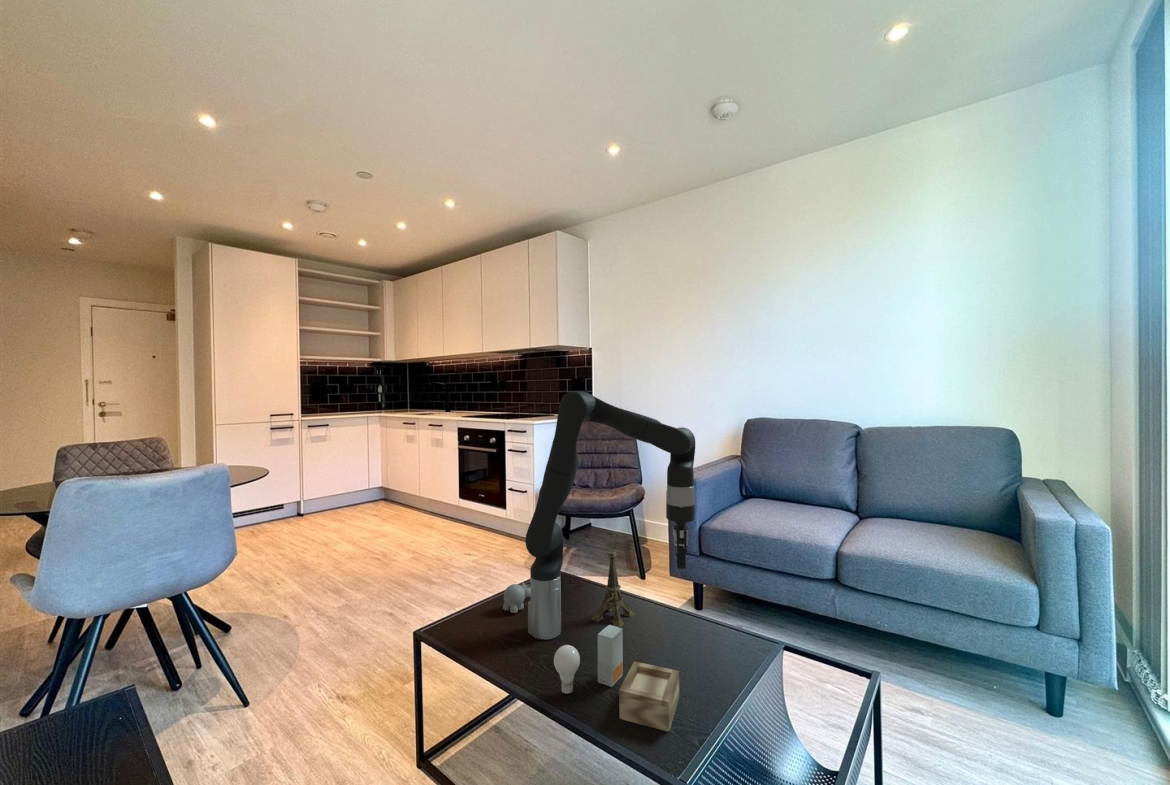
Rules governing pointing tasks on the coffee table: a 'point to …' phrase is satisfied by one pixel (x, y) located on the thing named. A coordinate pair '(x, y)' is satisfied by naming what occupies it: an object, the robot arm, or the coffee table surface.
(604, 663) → the skincare box
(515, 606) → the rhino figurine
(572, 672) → the lightbulb
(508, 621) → the coffee table surface
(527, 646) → the coffee table surface
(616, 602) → the eiffel tower
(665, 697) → the wooden box
